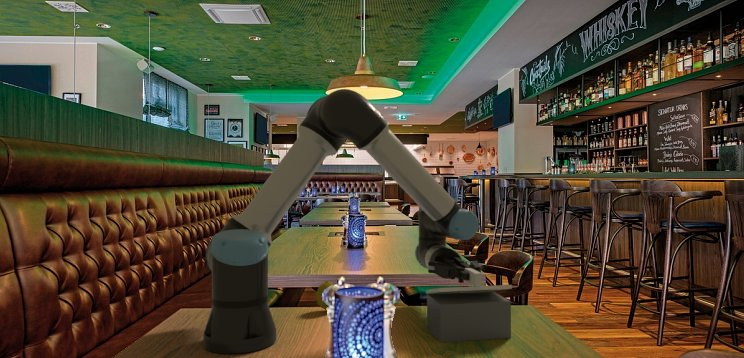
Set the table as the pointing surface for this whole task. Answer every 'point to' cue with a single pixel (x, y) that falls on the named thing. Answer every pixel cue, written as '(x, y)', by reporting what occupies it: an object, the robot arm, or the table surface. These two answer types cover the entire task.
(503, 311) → the box
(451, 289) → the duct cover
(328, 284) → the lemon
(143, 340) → the table surface
